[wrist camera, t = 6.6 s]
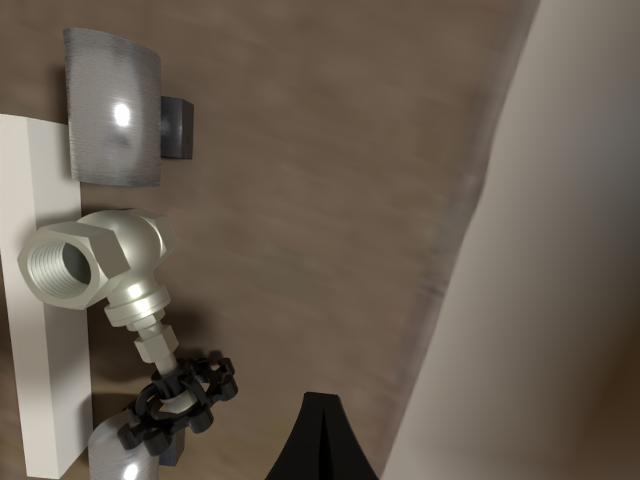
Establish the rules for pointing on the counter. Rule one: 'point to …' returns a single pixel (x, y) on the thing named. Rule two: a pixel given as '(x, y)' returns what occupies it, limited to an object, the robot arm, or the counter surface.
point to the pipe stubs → (122, 177)
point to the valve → (129, 312)
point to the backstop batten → (34, 315)
